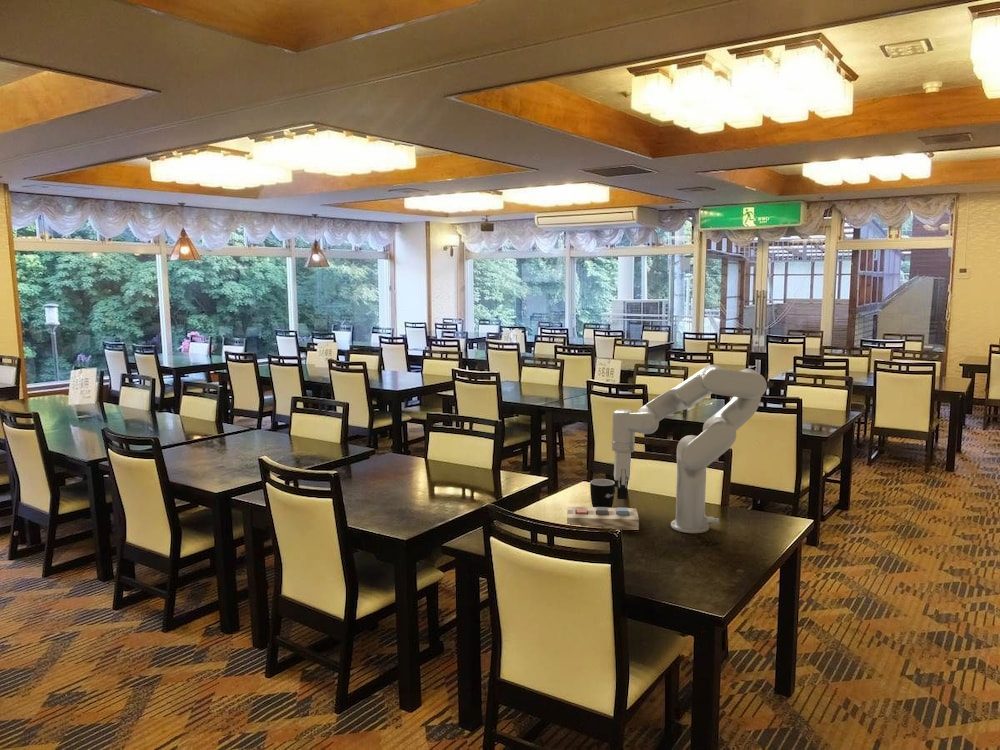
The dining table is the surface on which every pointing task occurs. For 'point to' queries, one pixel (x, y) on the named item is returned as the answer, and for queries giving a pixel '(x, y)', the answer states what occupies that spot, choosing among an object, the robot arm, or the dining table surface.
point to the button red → (581, 511)
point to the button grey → (602, 511)
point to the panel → (603, 518)
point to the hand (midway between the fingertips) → (622, 498)
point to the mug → (602, 492)
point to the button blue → (622, 511)
